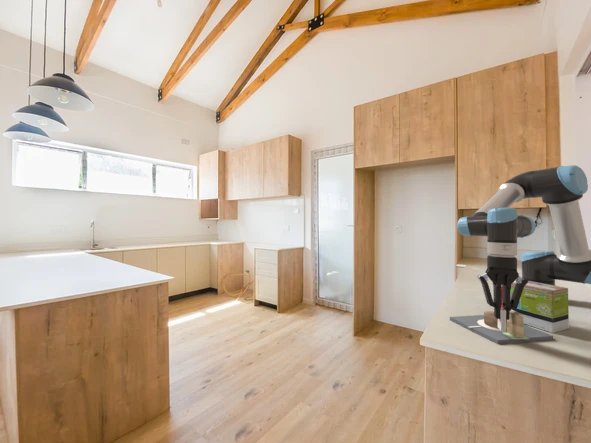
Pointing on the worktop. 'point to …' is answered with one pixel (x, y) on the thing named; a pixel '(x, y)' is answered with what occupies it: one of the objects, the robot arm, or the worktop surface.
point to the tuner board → (498, 331)
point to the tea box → (543, 306)
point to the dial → (507, 322)
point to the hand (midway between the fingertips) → (501, 329)
